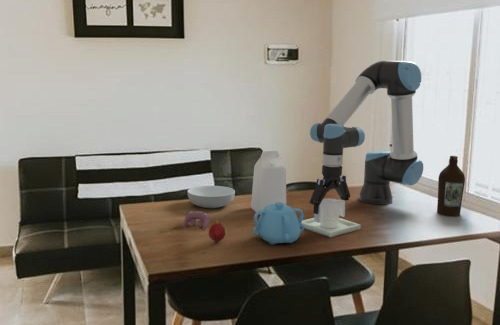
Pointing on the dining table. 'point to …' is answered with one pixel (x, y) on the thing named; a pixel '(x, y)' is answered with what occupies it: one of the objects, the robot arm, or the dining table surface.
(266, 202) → the milk
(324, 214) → the white cup
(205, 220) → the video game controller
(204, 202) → the serving bowl
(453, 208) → the olive oil
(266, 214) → the decorative pot
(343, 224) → the tray
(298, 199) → the dining table surface
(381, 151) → the robot arm
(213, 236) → the onion
